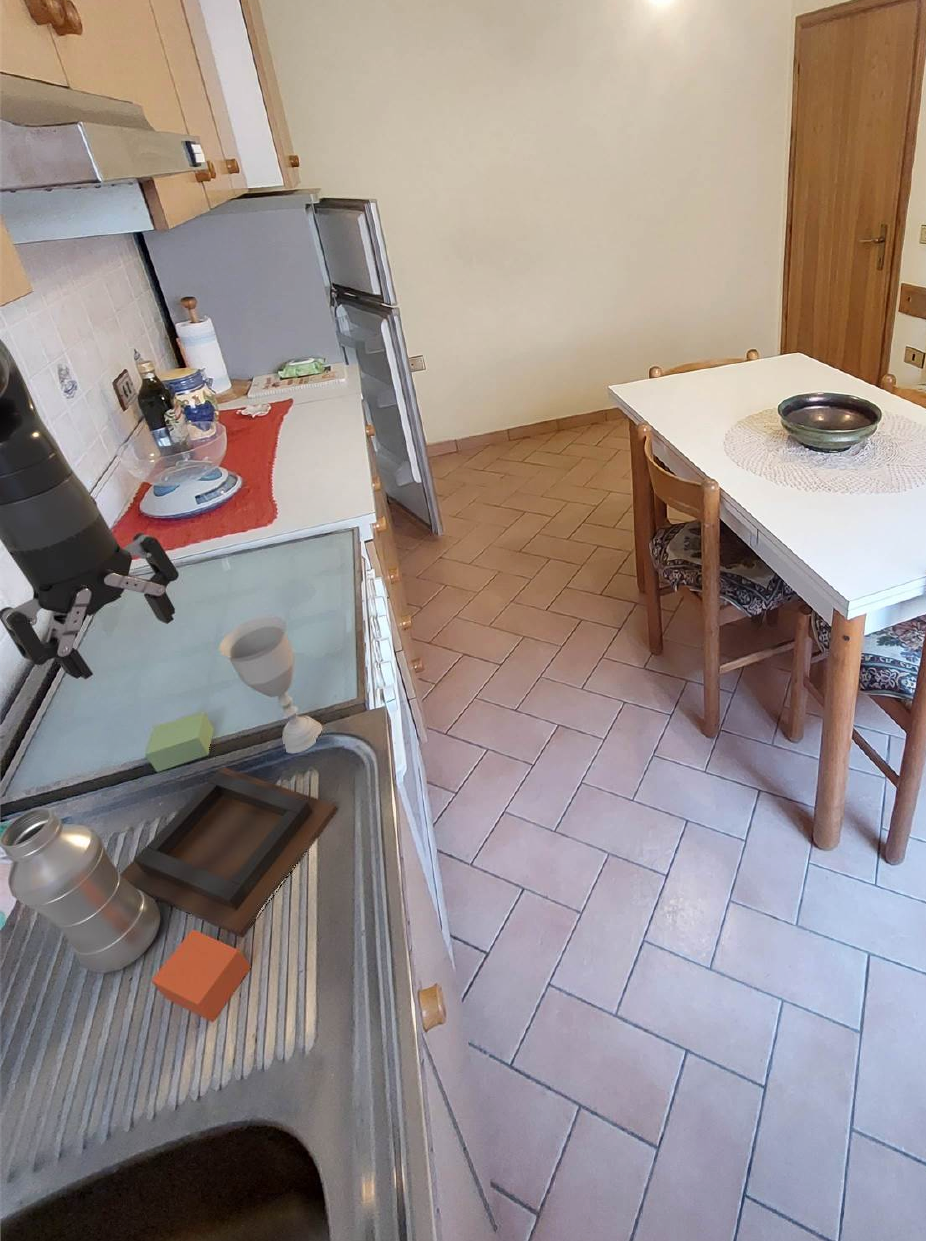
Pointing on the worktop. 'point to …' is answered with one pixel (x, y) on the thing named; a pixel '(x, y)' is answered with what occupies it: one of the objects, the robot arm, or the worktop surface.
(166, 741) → the sage pad
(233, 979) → the terracotta pad
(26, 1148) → the worktop surface
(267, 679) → the chalice
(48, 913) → the metal milk can
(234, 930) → the back frame
